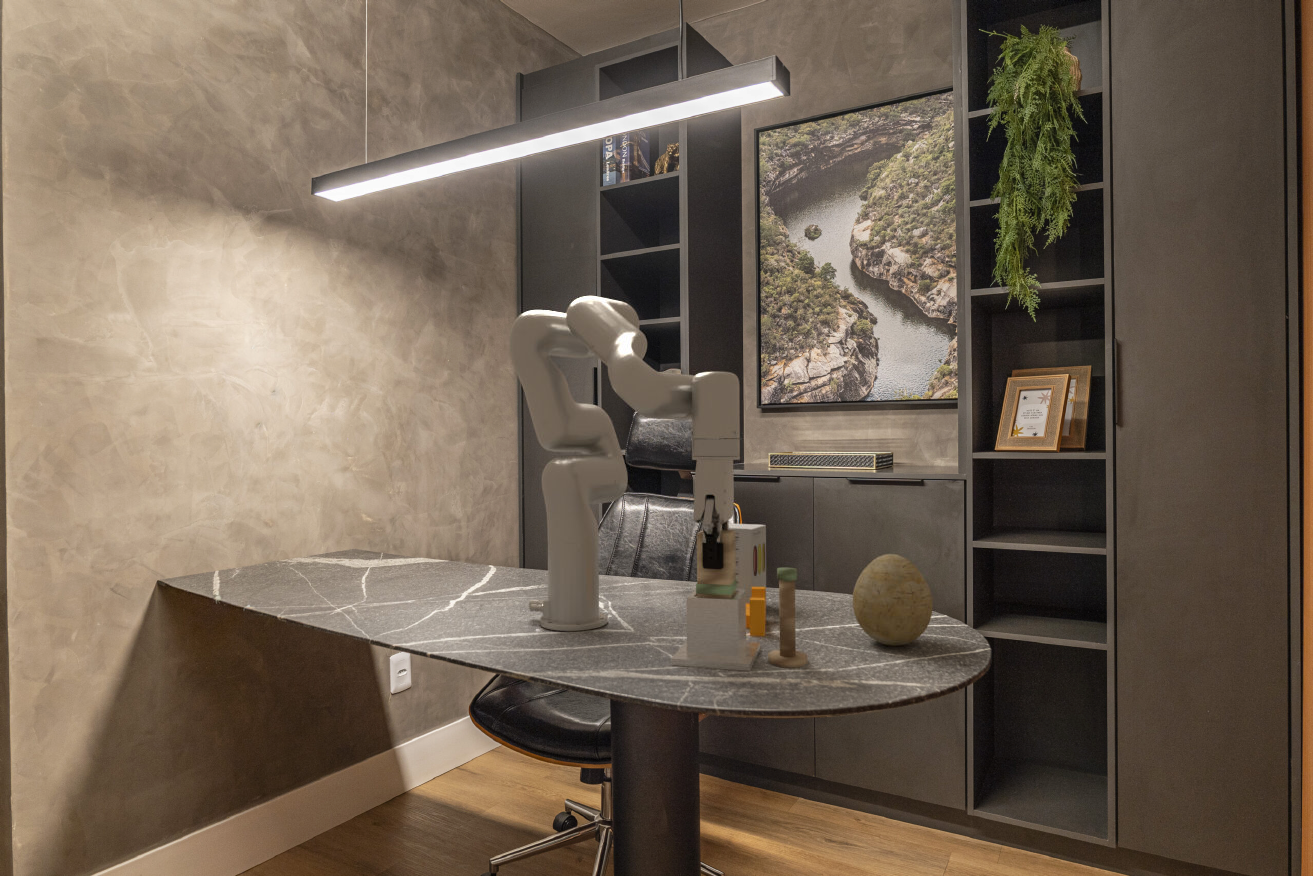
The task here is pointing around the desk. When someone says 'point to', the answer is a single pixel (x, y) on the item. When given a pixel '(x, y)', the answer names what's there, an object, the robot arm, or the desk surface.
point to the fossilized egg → (892, 600)
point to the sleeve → (717, 634)
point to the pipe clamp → (756, 611)
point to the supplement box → (750, 556)
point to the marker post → (787, 623)
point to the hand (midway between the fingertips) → (716, 564)
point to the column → (718, 570)
